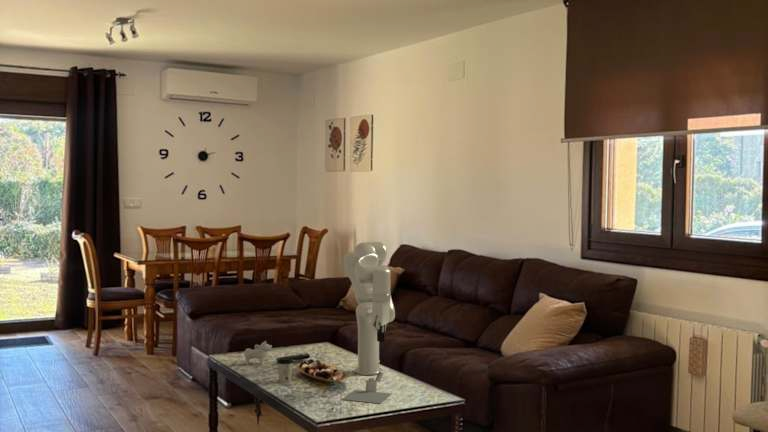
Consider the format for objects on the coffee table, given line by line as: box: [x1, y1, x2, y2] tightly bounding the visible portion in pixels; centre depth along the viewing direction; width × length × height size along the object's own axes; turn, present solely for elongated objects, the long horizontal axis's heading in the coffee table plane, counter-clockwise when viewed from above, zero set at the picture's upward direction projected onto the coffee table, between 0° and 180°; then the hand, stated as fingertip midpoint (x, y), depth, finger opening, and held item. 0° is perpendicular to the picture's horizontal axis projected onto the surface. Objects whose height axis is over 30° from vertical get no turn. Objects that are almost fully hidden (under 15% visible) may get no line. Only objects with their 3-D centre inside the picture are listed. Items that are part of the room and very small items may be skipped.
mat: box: [341, 389, 392, 405], centre depth 305 cm, size 14×16×1 cm
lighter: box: [365, 371, 384, 392], centre depth 314 cm, size 7×2×8 cm, turn 116°
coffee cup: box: [277, 356, 294, 384], centre depth 327 cm, size 7×7×10 cm
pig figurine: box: [244, 340, 273, 366], centre depth 358 cm, size 5×13×11 cm, turn 98°
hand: (381, 341), depth 320 cm, fingers closed
